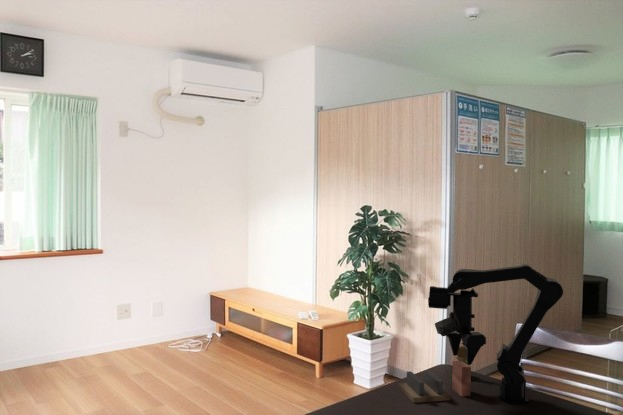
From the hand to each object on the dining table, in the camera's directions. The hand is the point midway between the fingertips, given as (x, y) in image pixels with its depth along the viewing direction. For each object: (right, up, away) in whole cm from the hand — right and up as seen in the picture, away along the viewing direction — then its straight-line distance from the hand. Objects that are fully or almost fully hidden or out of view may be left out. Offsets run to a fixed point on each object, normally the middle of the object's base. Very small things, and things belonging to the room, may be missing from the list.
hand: (461, 359), depth 162 cm
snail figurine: (+5, -10, +15) cm, 19 cm away
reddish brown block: (0, -10, 0) cm, 10 cm away
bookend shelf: (-12, -10, -1) cm, 16 cm away
